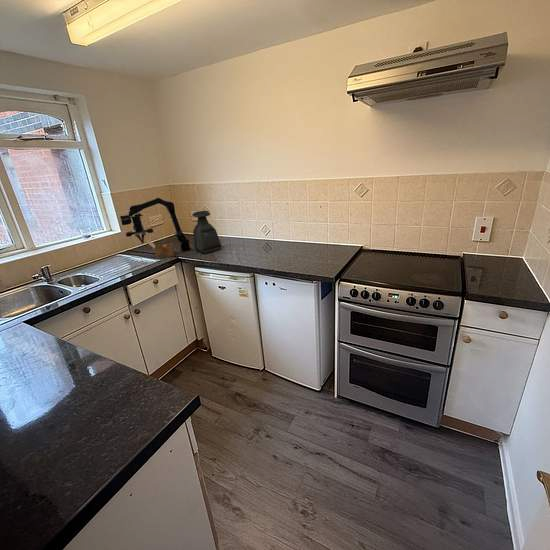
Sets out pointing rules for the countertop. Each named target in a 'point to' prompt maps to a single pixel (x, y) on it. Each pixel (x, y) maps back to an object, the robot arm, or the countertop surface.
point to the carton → (164, 251)
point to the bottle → (205, 234)
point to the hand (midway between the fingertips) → (143, 243)
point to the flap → (151, 244)
